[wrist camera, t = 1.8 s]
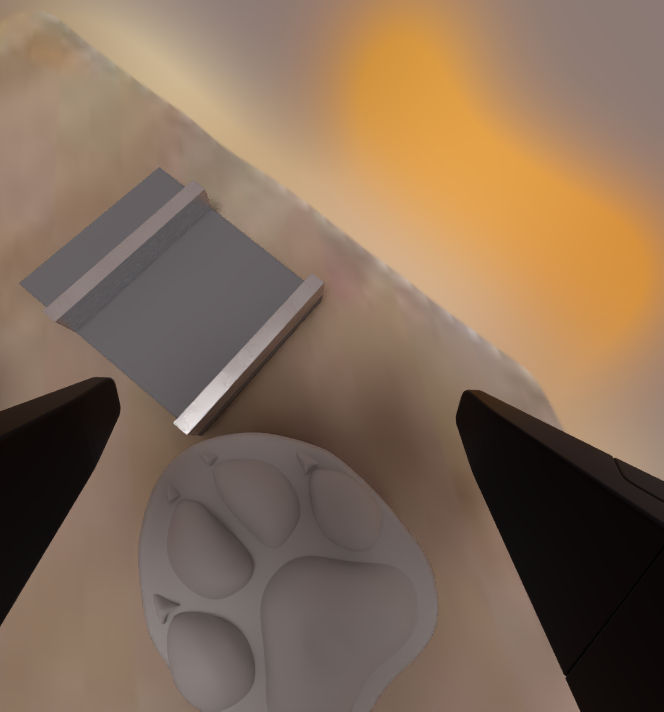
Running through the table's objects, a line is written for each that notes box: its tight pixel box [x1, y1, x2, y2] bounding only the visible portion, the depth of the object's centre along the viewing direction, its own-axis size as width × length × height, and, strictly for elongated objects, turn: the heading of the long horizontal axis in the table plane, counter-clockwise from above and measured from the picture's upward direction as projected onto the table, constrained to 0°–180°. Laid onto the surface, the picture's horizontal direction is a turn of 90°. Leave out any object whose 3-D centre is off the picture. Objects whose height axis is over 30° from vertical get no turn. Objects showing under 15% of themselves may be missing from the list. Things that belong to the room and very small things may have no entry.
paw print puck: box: [138, 432, 438, 712], centre depth 17 cm, size 10×13×9 cm
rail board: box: [19, 167, 324, 436], centre depth 23 cm, size 12×15×3 cm
